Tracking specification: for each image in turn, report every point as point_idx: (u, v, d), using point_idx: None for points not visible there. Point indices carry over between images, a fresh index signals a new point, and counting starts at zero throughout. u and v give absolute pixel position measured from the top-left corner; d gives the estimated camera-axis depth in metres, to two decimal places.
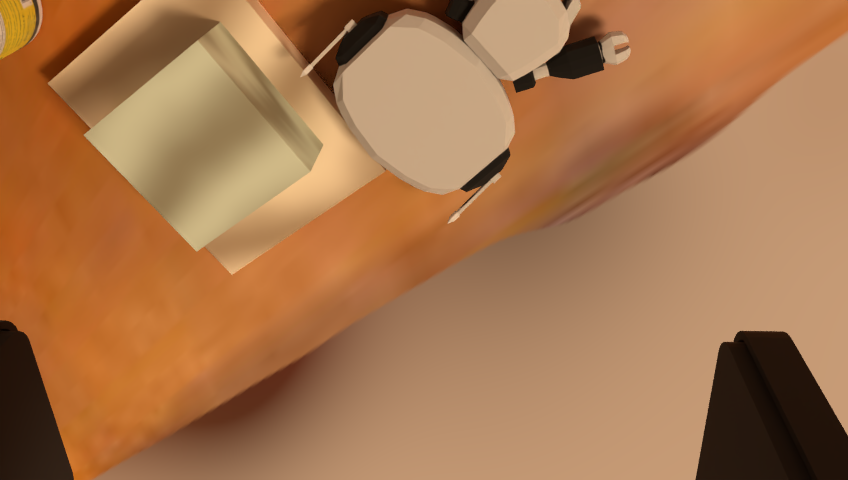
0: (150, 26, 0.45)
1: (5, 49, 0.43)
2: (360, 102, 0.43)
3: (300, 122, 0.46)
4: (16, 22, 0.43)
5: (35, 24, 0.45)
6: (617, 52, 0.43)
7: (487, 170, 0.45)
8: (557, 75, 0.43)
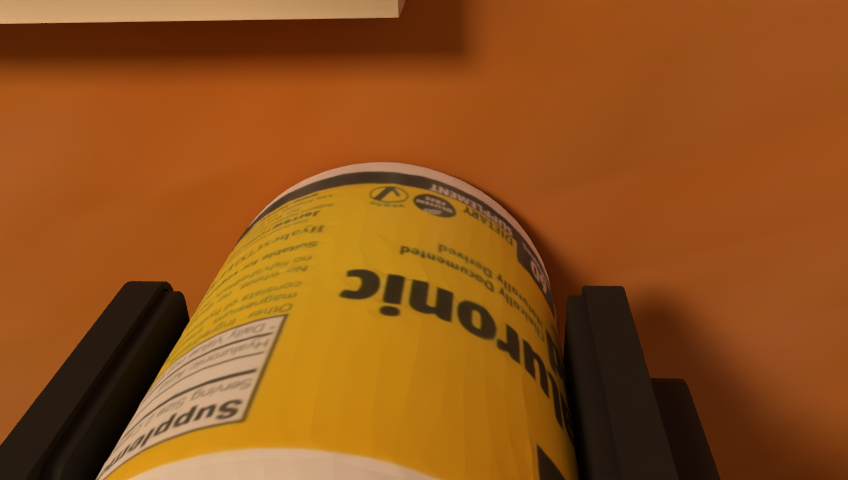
0: None
1: (265, 303, 0.08)
2: None
3: None
4: (197, 314, 0.10)
5: (277, 209, 0.11)
6: None
7: None
8: None
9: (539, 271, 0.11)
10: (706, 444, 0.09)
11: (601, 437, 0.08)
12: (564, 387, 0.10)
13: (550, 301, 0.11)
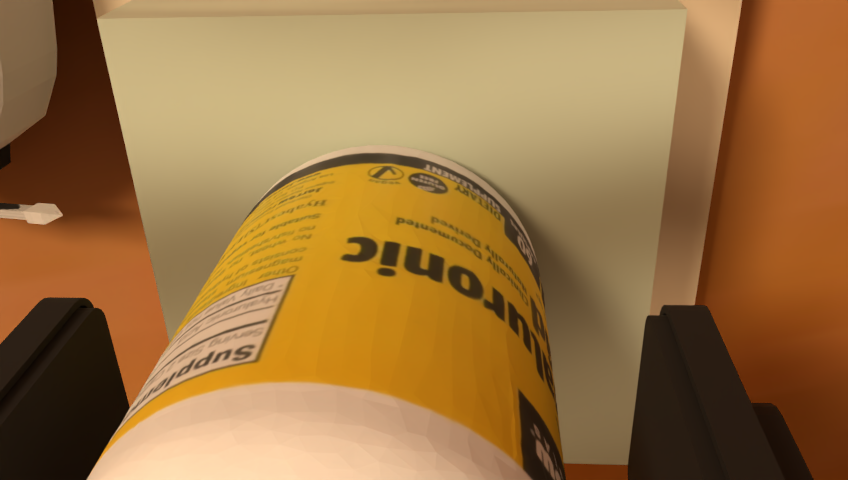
0: None
1: (273, 266, 0.09)
2: None
3: None
4: (209, 281, 0.10)
5: (282, 188, 0.12)
6: None
7: None
8: None
9: (525, 245, 0.12)
10: (809, 475, 0.08)
11: (708, 471, 0.08)
12: (547, 348, 0.11)
13: (535, 273, 0.12)
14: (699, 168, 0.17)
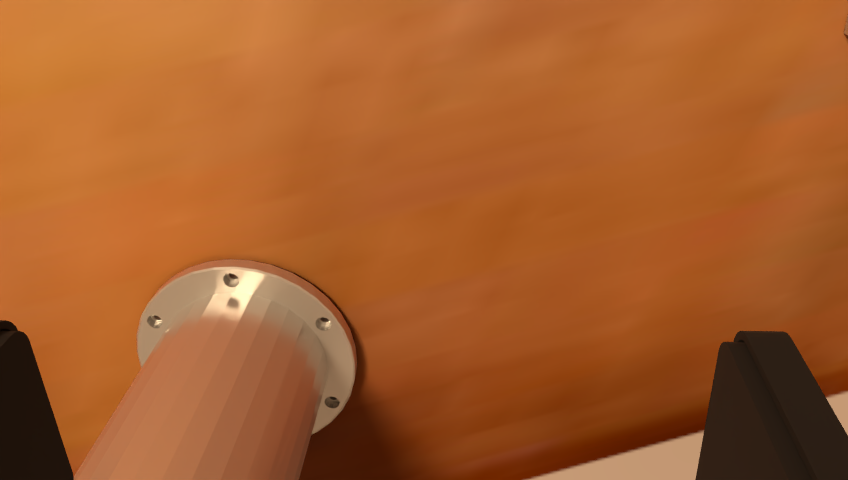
0: None
1: None
2: None
3: None
4: None
5: None
6: None
7: None
8: None
9: None
10: None
11: None
12: None
13: None
14: None
